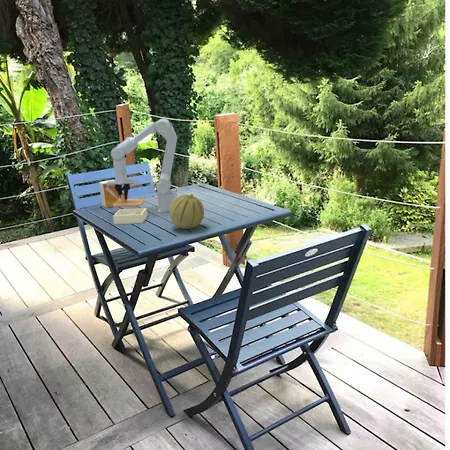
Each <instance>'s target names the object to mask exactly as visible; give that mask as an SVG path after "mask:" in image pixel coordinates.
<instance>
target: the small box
mask: <svg viewBox="0 0 450 450" xmlns="http://www.w3.org/2000/svg"><path fill="white" fill-rule="evenodd" d="M108 181H116V180H115V179H110V180H109V179H108V180H104V181H99V182H98V186H99V193H100V200H101V205H102V207H104V208H106V209H107V208H113V207H112V205H113V204H114V203H115V202H116V201H117V200H119V199H120V196H119V194H118V192H117V191H116V189H115V185H111V186H107V182H108Z"/></svg>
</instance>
